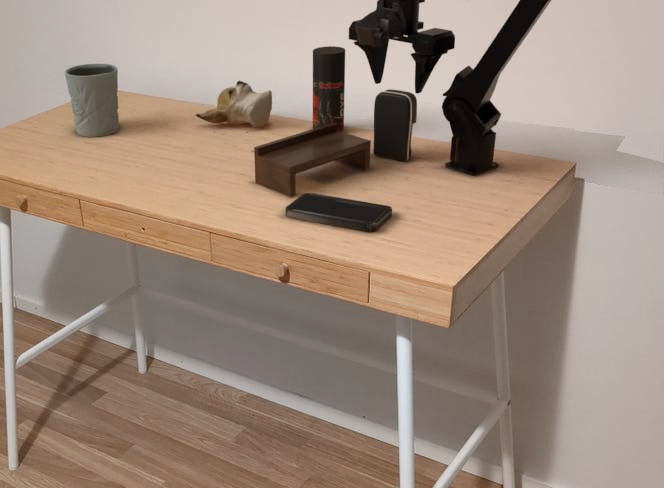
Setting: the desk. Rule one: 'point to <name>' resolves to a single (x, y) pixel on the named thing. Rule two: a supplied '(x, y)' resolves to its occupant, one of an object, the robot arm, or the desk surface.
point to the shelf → (307, 156)
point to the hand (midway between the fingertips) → (397, 88)
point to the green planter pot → (94, 98)
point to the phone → (339, 212)
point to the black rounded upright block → (394, 124)
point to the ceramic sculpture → (240, 106)
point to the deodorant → (328, 86)
